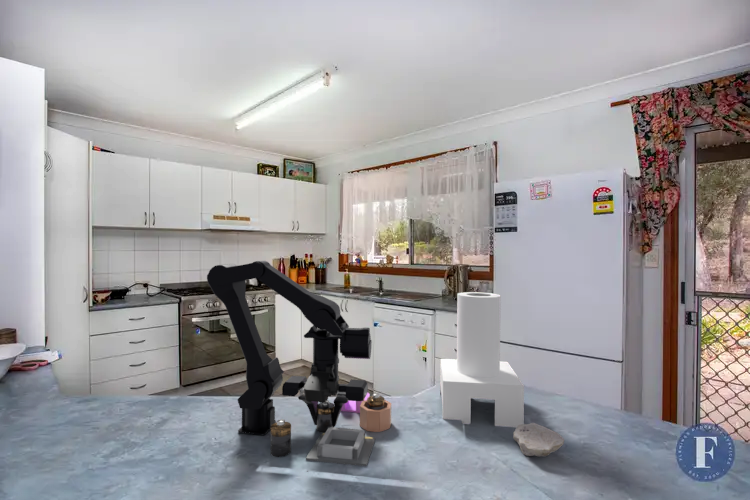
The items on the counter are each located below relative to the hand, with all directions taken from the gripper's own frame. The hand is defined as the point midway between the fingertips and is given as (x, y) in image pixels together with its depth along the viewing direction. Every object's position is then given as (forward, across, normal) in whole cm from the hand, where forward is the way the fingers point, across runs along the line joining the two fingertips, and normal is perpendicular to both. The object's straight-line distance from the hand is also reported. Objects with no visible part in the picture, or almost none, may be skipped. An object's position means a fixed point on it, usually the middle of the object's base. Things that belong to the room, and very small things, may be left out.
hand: (325, 425), depth 87 cm
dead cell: (+1, +11, +4) cm, 12 cm away
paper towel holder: (+2, +36, +19) cm, 41 cm away
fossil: (+2, +46, 0) cm, 46 cm away
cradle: (+2, +6, -8) cm, 10 cm away
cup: (+2, +11, +4) cm, 12 cm away
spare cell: (+2, -6, -11) cm, 13 cm away
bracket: (+2, +4, +16) cm, 17 cm away
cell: (+2, 0, 0) cm, 2 cm away
